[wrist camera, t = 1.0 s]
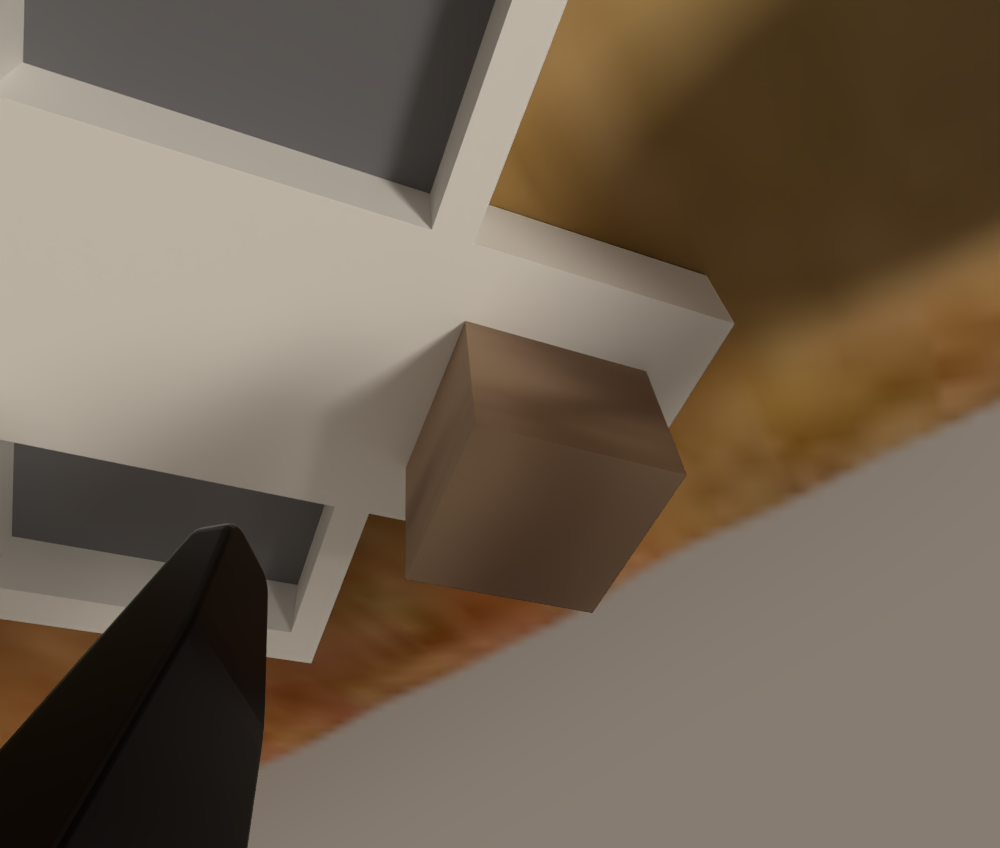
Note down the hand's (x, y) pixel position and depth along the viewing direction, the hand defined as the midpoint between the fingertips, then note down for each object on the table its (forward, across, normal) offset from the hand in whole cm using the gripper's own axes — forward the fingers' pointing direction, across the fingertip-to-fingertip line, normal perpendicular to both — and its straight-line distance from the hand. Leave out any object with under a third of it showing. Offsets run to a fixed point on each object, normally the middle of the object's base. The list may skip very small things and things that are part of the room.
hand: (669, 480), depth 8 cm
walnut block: (+11, +2, +8) cm, 14 cm away
